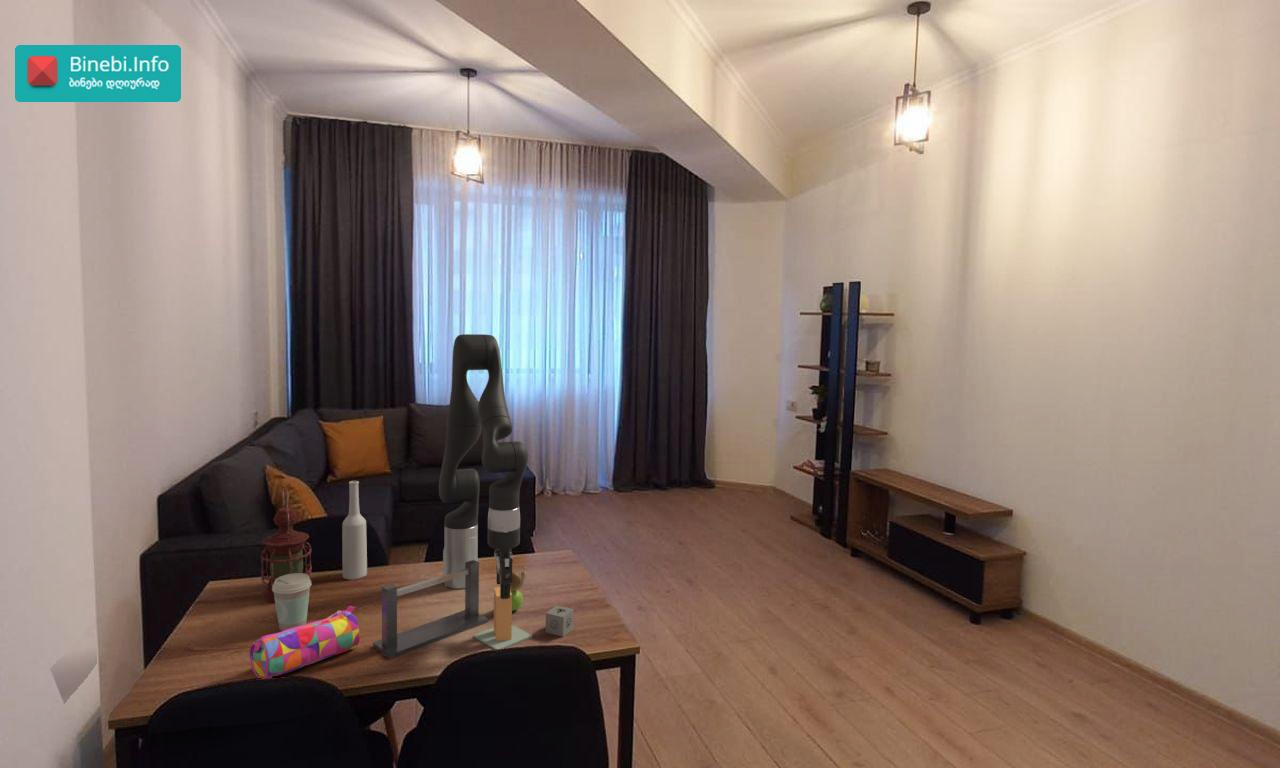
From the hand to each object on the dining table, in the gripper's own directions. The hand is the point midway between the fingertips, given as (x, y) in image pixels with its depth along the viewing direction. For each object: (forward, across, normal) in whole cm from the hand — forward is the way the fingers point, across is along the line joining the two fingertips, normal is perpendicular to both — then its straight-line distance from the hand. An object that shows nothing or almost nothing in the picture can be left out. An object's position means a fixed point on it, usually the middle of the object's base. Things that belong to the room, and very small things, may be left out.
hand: (503, 590), depth 158 cm
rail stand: (+12, -6, -16) cm, 20 cm away
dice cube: (+12, 0, +14) cm, 18 cm away
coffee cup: (+12, -18, -48) cm, 53 cm away
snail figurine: (+12, -14, +5) cm, 19 cm away
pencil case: (+12, +1, -42) cm, 44 cm away
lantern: (+12, -38, -53) cm, 67 cm away
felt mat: (+12, 0, 0) cm, 12 cm away
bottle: (+12, -49, -37) cm, 63 cm away
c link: (+11, 0, 0) cm, 11 cm away
